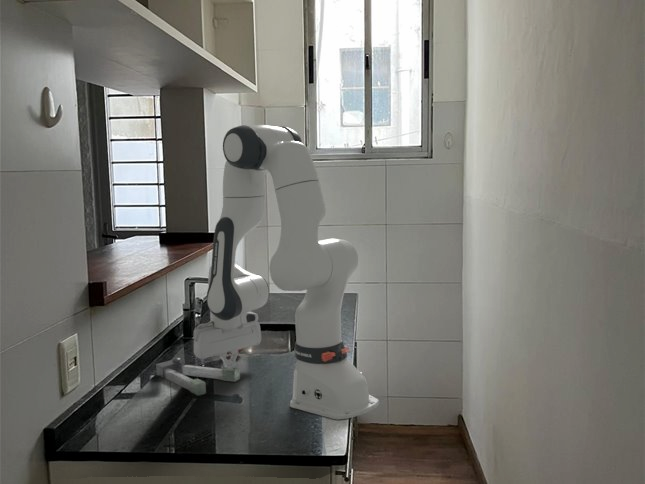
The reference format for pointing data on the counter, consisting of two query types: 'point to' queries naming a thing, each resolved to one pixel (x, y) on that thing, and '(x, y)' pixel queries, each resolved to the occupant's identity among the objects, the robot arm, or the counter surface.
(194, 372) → the tong arm
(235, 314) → the robot arm
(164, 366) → the tong base
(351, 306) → the counter surface
